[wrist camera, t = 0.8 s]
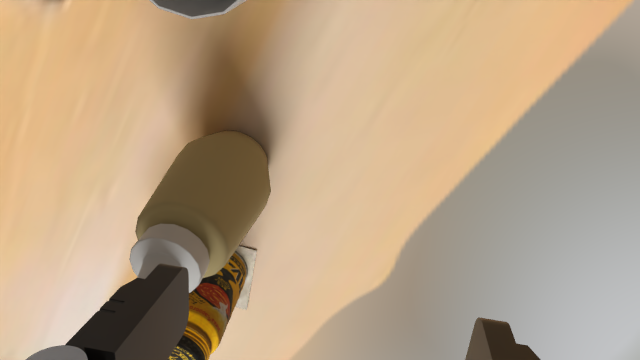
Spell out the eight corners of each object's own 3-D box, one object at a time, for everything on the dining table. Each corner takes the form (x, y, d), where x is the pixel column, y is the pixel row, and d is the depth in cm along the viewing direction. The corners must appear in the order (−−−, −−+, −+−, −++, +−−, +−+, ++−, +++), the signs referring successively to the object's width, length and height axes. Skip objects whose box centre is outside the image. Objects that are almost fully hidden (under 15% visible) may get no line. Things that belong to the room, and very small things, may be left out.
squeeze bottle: (255, 213, 44) (175, 380, 29) (178, 169, 43) (51, 318, 27) (297, 150, 40) (230, 304, 25) (213, 99, 39) (87, 228, 23)
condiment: (257, 249, 46) (214, 347, 36) (247, 308, 51) (206, 411, 40) (185, 230, 46) (123, 323, 36) (182, 291, 51) (125, 389, 41)
